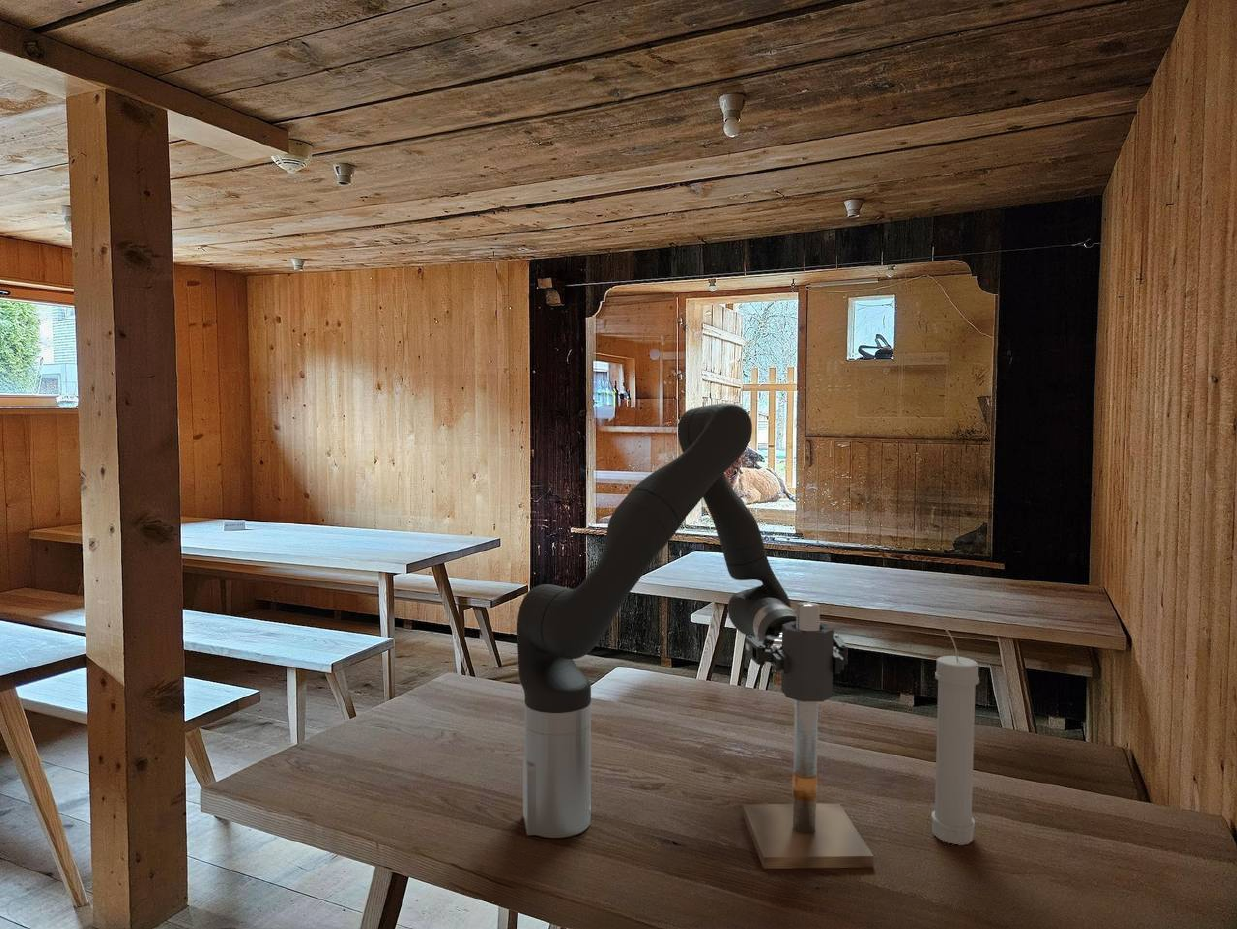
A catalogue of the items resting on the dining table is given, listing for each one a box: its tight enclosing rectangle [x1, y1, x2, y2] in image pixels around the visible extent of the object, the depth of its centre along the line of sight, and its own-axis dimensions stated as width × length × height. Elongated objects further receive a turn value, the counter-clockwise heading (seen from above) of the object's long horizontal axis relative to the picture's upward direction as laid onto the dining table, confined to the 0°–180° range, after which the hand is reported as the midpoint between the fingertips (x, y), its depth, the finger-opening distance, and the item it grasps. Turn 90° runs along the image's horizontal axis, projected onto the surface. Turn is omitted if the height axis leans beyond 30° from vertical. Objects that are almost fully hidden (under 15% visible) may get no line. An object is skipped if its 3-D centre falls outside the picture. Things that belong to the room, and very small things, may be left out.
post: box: [742, 602, 874, 870], centre depth 107 cm, size 14×14×32 cm
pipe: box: [930, 617, 980, 846], centre depth 108 cm, size 6×6×30 cm
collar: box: [780, 621, 835, 702], centre depth 107 cm, size 6×6×9 cm
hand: (812, 665), depth 104 cm, fingers closed on collar, 6 cm apart
